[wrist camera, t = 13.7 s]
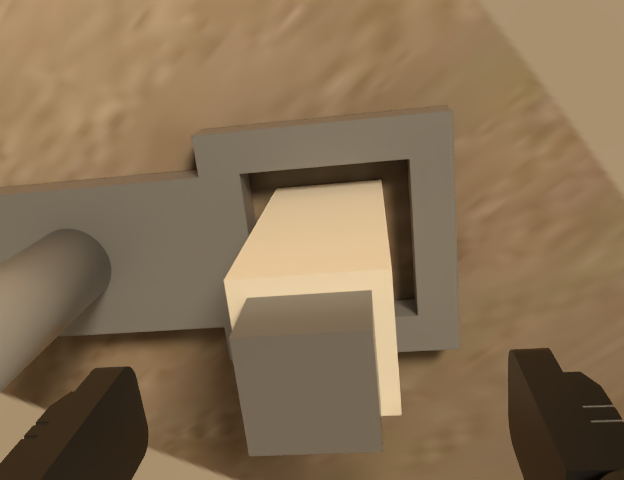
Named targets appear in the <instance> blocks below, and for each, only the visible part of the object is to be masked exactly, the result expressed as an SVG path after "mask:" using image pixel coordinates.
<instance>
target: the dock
mask: <svg viewBox="0 0 624 480" xmlns="http://www.w3.org/2000/svg"><path fill="white" fill-rule="evenodd" d="M191 137H192V142H193V148H194V154H195V160H196V166H197V170H188V171H177V172H166V173H155V174H144V175H133V176H122V177H110V178H99V179H88V180H77V181H66V182H55V183H44V184H33V185H22V186H10V187H0V393H1V392H2V391H3V390H4V389H5V388H6V387H7V386H8V385H9V384H10V383H11V382H12V381H13V380H14V379H15V378H16V377H17V376H18V375H19V374H20V373H21V372H22V371H23V370H24V369H25V368H26V367H27V366H28V365H29V364H30V363H31V362H32V361H33V360H34V359H35V358H36V357H37V356H38V355H39V354H40V353H41V352H42V351H43V350H44V349H45V348H46V347H47V346H49V345H50V344H51V343H52V342H53V341H54V340H55V339H56V338H57V337H63V336H80V335H98V334H115V333H132V332H149V331H167V330H184V329H201V328H218V327H224V328H225V334H226V340H227V346H228V351H229V357H230V361H233V359H232V353H231V347H230V341H229V337H230V335H231V332H232V327H231V321H230V315H229V309H228V303H227V297H226V291H225V285H224V279H225V277H226V275H227V273H228V272H229V270H230V268H231V267H232V265H233V263H234V261H235V260H236V258H237V256H238V254H239V253H240V251H241V249H242V247H243V246H244V244H245V242H246V241H247V239H248V237H249V235H250V234H251V232H252V230H253V228H254V227H255V225H256V222H255V215H254V208H253V201H252V194H251V187H250V180H249V174H248V173H255V172H267V171H278V170H289V169H300V168H312V167H323V166H334V165H346V164H357V163H368V162H380V161H391V160H402V159H407V166H408V184H409V202H410V220H411V238H412V256H413V273H414V291H415V299H408V300H394V310H395V325H396V339H397V352H410V351H430V350H449V349H460V339H459V306H458V272H457V239H456V205H455V172H454V138H453V110H452V109H450V108H449V107H448V106H447V105H446V106H436V107H425V108H415V109H405V110H395V111H385V112H374V113H364V114H354V115H344V116H334V117H323V118H313V119H303V120H293V121H283V122H272V123H262V124H252V125H242V126H232V127H221V128H211V129H202V130H200V131H199V132H197V133H195V134H194V135H192V136H191Z"/></svg>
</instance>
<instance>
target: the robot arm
mask: <svg viewBox="0 0 624 480" xmlns="http://www.w3.org/2000/svg"><path fill="white" fill-rule="evenodd" d="M508 417H509V428H510V435H511V440H512V445H513V448H514V451H515V454H516V457H517V460H518V463H519V466H520V469H521V472H522V474H523V477H524V480H624V422H622V418H621V416H620V415H619V413H618V411H617V410H616V408H615V407H613V405H612V402H611V401H610V399H609V398H608V396H607V395H606V393H605V392H604V390H603V388H602V387H601V386H600V385H599V384H597V383H596V382H594V381H593V380H591V379H590V378H588V377H587V376H586V375H584V374H583V373H581V372H563V371H562V370H561V368H560V366H559V364H558V362H557V361H556V359H555V357H554V355H553V354H552V352H551V350H550V349H549V348H536V349H514V350H510V351H509V357H508ZM147 445H148V426H147V421H146V417H145V413H144V408H143V404H142V400H141V395H140V391H139V387H138V383H137V378H136V375H135V372H134V371H133V369H132V368H131V367H107V368H95V369H94V370H92V371H91V373H90V374H89V375H88V376H87V377H86V379H85V380H84V381H83V382H82V383H81V385H80V386H79V387H78V388H77V389H76V391H75V392H70V393H69V394H67V395H66V396H64V397H63V398H61V399H60V400H58V401H57V402H55V403H54V404H52V405H51V406H50V407H49V408H48V409H47V410H46V411H45V413H44V414H43V415H42V416H41V417H40V418H39V419H38V421H37V422H36V426H33V427H31V429H30V430H29V431H28V432H27V433H26V434H25V436H24V439H21V440H20V441H19V442H18V444H17V445H16V446H15V447H14V448H13V449H12V450H11V452H10V453H9V454H8V455H7V456H6V457H5V459H4V460H3V461H2V462H1V463H0V480H132V478H133V476H134V474H135V472H136V470H137V469H138V467H139V465H140V463H141V461H142V459H143V458H144V456H145V453H146V450H147Z"/></svg>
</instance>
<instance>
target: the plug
mask: <svg viewBox="0 0 624 480" xmlns="http://www.w3.org/2000/svg"><path fill="white" fill-rule="evenodd" d="M224 285H225V291H226V297H227V303H228V309H229V315H230V321H231V327H232V332H231V335H230V337H229V341H230V347H231V353H232V359H233V365H234V370H235V376H236V382H237V388H238V394H239V400H240V406H241V412H242V417H243V423H244V429H245V435H246V441H247V447H248V453H249V456H275V455H307V454H338V453H370V452H383V445H382V422H381V416H391V415H402V413H401V398H400V383H399V369H398V354H397V339H396V325H395V310H394V295H393V281H392V267H391V259H390V250H389V241H388V233H387V224H386V216H385V207H384V199H383V190H382V181H381V179H380V180H369V181H357V182H345V183H333V184H321V185H309V186H298V187H286V188H277V189H276V190H275V192H274V194H273V195H272V197H271V199H270V201H269V202H268V204H267V206H266V208H265V209H264V211H263V213H262V215H261V216H260V218H259V220H258V221H257V223H256V225H255V227H254V228H253V230H252V232H251V234H250V235H249V237H248V239H247V241H246V242H245V244H244V246H243V247H242V249H241V251H240V253H239V254H238V256H237V258H236V260H235V261H234V263H233V265H232V267H231V268H230V270H229V272H228V273H227V275H226V277H225V279H224Z"/></svg>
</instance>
